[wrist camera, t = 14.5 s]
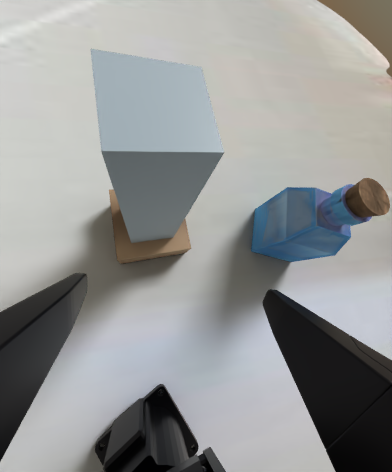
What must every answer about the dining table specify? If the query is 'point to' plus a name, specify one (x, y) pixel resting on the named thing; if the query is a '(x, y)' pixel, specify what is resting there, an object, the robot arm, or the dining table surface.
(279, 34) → the dining table surface
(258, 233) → the perfume bottle
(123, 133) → the slate-blue post
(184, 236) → the walnut plinth
